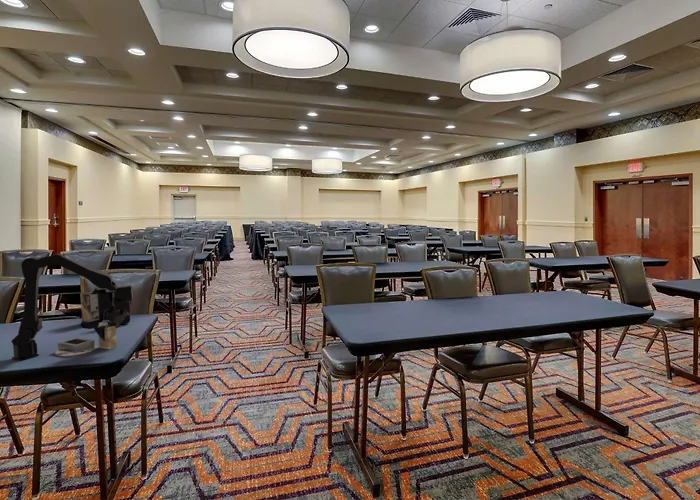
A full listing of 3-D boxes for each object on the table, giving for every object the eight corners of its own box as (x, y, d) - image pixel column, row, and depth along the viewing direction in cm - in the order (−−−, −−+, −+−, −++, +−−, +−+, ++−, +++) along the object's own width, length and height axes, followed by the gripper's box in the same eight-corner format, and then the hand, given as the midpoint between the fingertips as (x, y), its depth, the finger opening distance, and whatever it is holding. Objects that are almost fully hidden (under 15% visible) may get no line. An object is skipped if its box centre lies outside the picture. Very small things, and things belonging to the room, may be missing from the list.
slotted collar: (70, 358, 160) (69, 349, 159) (47, 353, 165) (46, 344, 165) (104, 347, 173) (104, 338, 172) (82, 343, 178) (81, 335, 178)
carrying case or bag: (132, 322, 213) (130, 295, 212) (133, 323, 210) (131, 295, 209) (108, 326, 206) (106, 297, 205) (109, 327, 204) (107, 298, 203)
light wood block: (109, 349, 170) (107, 328, 170) (99, 347, 173) (98, 326, 172) (116, 346, 174) (115, 326, 173) (107, 345, 176) (105, 324, 175)
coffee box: (104, 322, 213) (102, 292, 212) (91, 325, 207) (89, 294, 206) (93, 320, 217) (92, 291, 216) (81, 323, 212) (79, 293, 210)
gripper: (97, 310, 160) (99, 348, 161) (138, 300, 177) (140, 335, 178) (78, 307, 164) (80, 345, 165) (120, 298, 181) (122, 333, 183)
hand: (107, 339), depth 173 cm, fingers closed on light wood block, 3 cm apart
